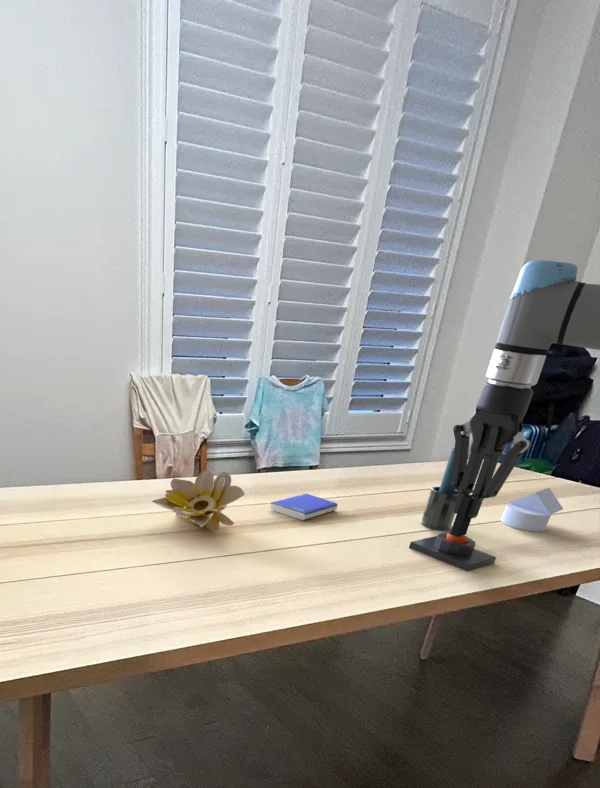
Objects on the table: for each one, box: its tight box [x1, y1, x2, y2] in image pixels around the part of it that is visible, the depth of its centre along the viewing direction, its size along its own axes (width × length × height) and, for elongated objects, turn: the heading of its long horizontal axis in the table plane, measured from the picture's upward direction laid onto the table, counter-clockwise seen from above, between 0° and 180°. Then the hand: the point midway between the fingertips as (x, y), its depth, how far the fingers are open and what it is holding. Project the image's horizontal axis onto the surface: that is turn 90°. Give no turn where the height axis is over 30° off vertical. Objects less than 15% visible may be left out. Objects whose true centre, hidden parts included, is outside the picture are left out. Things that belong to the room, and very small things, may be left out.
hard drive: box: [269, 493, 338, 521], centre depth 127 cm, size 2×8×12 cm
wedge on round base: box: [500, 487, 564, 533], centre depth 135 cm, size 9×7×13 cm
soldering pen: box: [439, 447, 456, 495], centre depth 123 cm, size 3×3×14 cm
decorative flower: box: [151, 469, 246, 532], centre depth 111 cm, size 15×11×10 cm
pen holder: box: [420, 486, 458, 532], centre depth 126 cm, size 6×6×7 cm
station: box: [408, 532, 497, 572], centre depth 112 cm, size 12×9×3 cm
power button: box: [446, 532, 469, 544], centre depth 112 cm, size 4×4×2 cm
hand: (457, 534), depth 111 cm, fingers closed
